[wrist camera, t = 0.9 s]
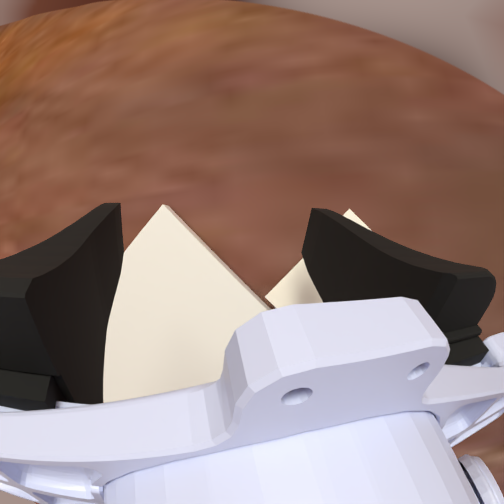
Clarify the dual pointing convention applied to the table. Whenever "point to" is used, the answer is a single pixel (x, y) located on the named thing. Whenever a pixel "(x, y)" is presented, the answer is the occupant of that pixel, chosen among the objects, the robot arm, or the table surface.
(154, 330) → the tile
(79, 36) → the table surface
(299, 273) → the block
